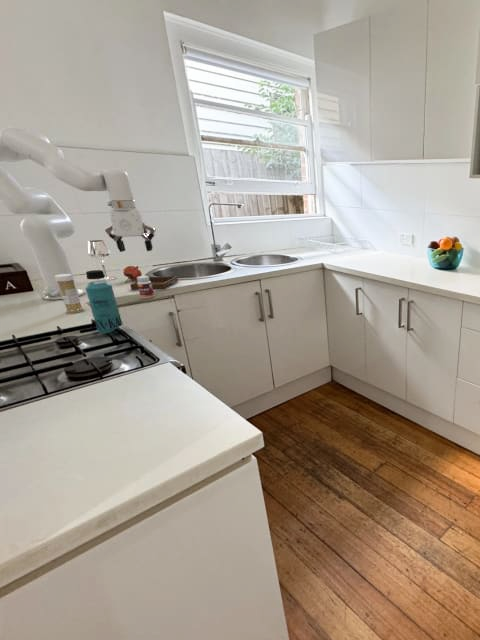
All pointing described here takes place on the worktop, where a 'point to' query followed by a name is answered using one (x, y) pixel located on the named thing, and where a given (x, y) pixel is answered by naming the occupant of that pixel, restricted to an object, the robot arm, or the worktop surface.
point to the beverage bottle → (102, 303)
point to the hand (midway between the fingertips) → (136, 250)
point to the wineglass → (99, 254)
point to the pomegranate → (132, 273)
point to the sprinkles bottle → (69, 292)
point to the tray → (158, 283)
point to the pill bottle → (145, 287)
